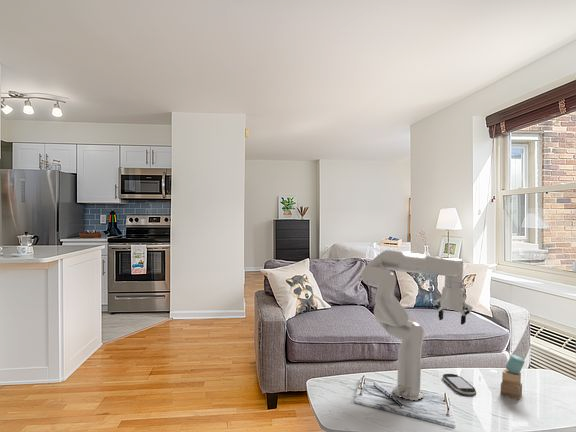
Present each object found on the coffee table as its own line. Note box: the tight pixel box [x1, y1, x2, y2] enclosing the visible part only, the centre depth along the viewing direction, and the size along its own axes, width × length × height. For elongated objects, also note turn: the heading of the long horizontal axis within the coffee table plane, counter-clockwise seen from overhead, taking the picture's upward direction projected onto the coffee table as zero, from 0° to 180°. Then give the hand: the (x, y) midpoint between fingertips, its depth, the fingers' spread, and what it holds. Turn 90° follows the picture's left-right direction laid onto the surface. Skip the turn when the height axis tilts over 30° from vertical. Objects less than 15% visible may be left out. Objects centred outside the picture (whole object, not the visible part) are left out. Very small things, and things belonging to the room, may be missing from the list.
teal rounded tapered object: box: [505, 354, 526, 374], centre depth 164 cm, size 6×6×6 cm
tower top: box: [501, 367, 522, 388], centre depth 165 cm, size 6×6×5 cm
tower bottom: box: [500, 381, 523, 401], centre depth 165 cm, size 7×7×5 cm
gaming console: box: [442, 373, 477, 396], centre depth 172 cm, size 19×9×3 cm, turn 2°
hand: (451, 321), depth 174 cm, fingers open, 9 cm apart
